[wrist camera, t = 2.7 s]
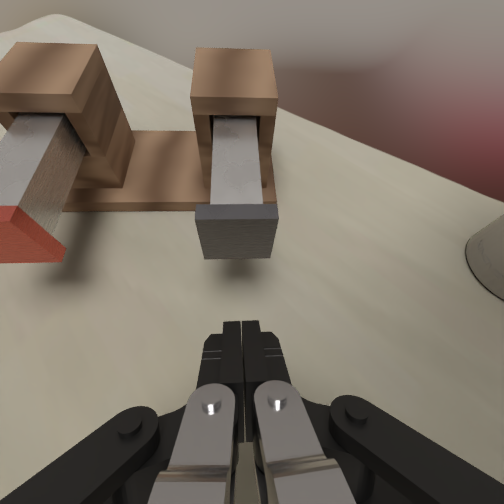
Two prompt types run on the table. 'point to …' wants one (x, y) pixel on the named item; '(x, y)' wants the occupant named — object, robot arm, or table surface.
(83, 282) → the table surface
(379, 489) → the robot arm
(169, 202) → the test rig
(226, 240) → the charcoal plug
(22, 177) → the red plug
